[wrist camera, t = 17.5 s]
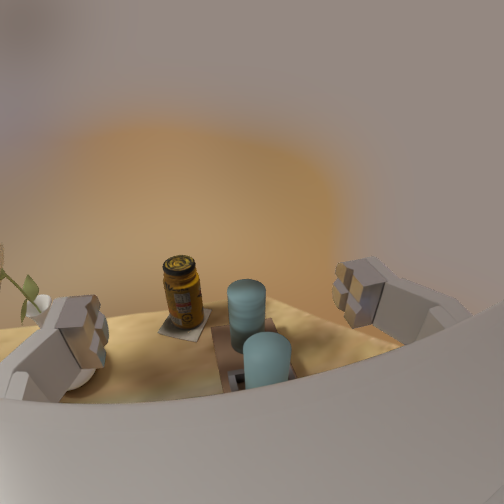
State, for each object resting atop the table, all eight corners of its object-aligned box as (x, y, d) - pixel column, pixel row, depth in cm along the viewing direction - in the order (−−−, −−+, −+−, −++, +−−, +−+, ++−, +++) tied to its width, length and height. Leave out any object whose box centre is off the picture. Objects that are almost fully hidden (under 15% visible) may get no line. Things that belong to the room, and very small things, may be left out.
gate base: (312, 428, 33) (331, 373, 26) (236, 446, 31) (229, 396, 24) (270, 328, 50) (273, 266, 43) (212, 338, 48) (204, 276, 41)
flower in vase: (53, 345, 43) (-1, 220, 30) (105, 344, 45) (59, 207, 33) (36, 402, 32) (-48, 267, 19) (95, 406, 34) (15, 257, 21)
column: (278, 419, 32) (283, 372, 27) (240, 407, 33) (235, 359, 28) (290, 388, 36) (296, 337, 31) (254, 379, 37) (253, 327, 32)
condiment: (212, 310, 54) (206, 253, 48) (196, 342, 47) (186, 283, 41) (176, 304, 55) (166, 249, 49) (157, 334, 48) (142, 277, 42)
